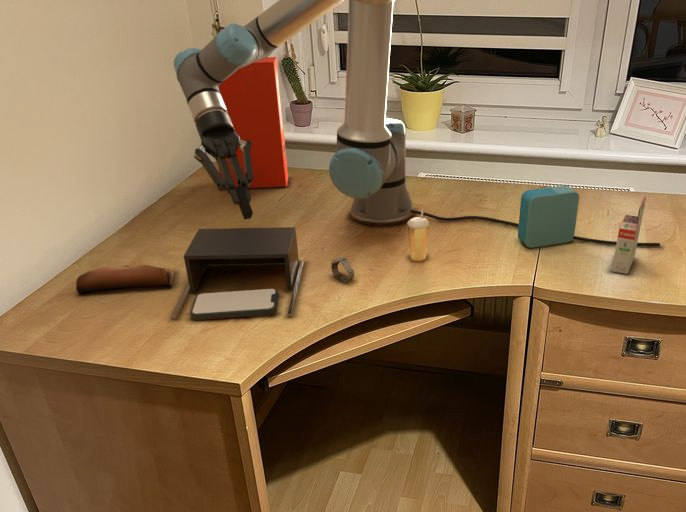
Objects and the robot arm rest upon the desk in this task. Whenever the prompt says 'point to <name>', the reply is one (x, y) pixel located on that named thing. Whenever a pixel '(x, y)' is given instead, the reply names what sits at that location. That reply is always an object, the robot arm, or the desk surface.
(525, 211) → the data package
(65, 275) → the desk surface
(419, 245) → the milkshake
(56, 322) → the desk surface
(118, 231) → the desk surface
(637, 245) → the robot arm
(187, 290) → the rails
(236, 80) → the tall red block
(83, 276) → the sunglasses case
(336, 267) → the wristwatch
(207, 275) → the desk surface
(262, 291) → the phone case
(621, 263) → the ink box
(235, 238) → the cover
